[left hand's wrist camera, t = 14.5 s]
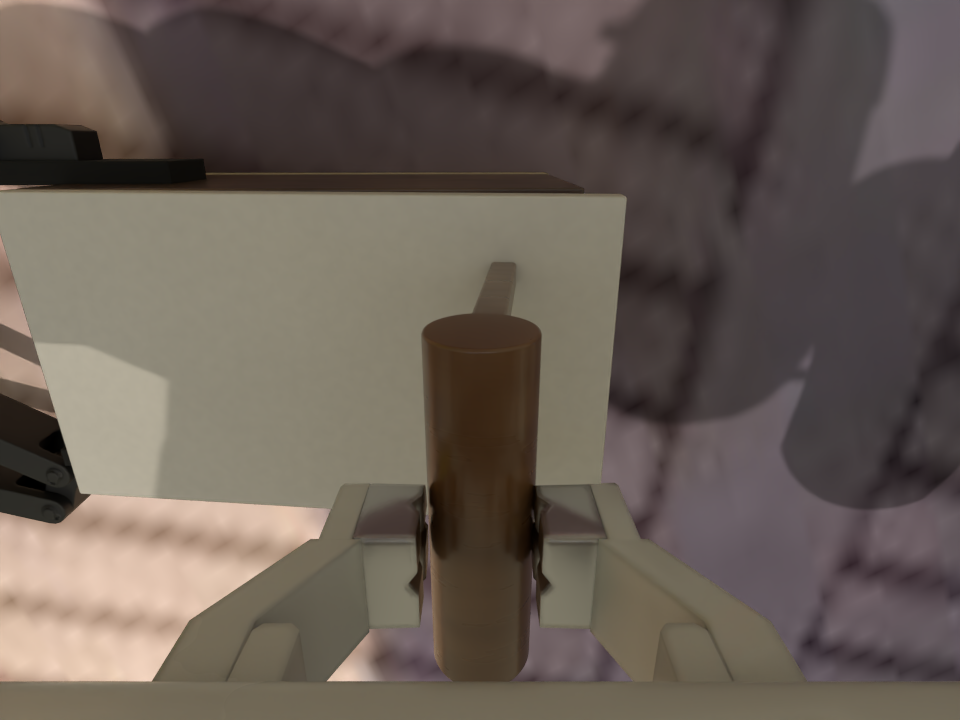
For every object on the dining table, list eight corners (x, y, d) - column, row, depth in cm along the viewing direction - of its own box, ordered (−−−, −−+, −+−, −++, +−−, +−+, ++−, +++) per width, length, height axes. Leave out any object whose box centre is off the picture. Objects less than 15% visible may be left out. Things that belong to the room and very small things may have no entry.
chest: (544, 172, 26) (585, 187, 17) (536, 374, 30) (566, 474, 21) (169, 172, 26) (11, 188, 17) (208, 377, 30) (96, 480, 21)
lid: (622, 193, 15) (709, 246, 7) (594, 509, 19) (633, 761, 11) (12, 189, 17) (-434, 228, 9) (97, 480, 21) (-168, 683, 13)
